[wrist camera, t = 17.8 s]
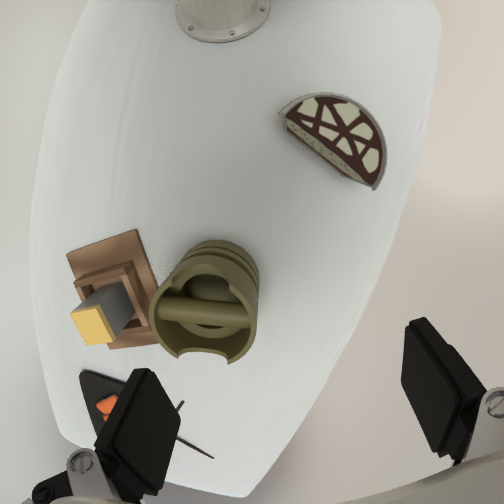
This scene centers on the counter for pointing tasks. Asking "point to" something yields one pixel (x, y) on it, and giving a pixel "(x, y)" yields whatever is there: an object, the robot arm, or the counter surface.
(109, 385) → the sushi plate
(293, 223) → the counter surface
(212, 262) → the piston
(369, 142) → the food container
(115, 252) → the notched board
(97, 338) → the gold and gray block
